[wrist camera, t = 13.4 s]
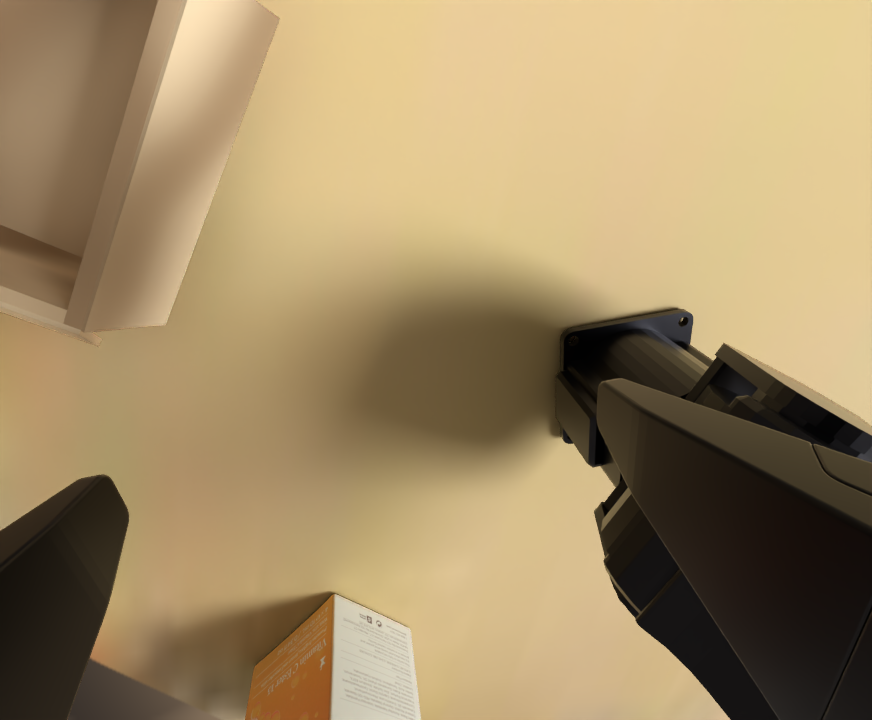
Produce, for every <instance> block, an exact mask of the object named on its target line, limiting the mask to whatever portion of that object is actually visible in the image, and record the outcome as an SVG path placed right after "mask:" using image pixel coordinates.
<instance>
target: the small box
mask: <svg viewBox="0 0 872 720" xmlns="http://www.w3.org/2000/svg"><path fill="white" fill-rule="evenodd" d="M245 720H421V715H420V706H419V698H418V689H417V680H416V672H415V663H414V655H413V646H412V637H411V630H410V629H409V628H408V627H406V626H404V625H402V624H400V623H398V622H395V621H393V620H391V619H389V618H387V617H385V616H383V615H381V614H378V613H376V612H374V611H372V610H370V609H368V608H365V607H363V606H361V605H359V604H357V603H354V602H352V601H350V600H348V599H346V598H343V597H341V596H339V595H337V594H333V595H332V596H331V597H330V598H329V599H328V600H327V601H326V602H325V603H324V604H323V605H322V606H321V607H320V608H319V609H318V610H317V611H316V612H315V613H314V614H313V615H311V616H310V617H309V618H308V619H307V620H306V621H305V622H304V623H303V624H302V625H301V626H299V627H298V628H297V629H296V630H295V631H294V632H293V633H292V634H291V635H290V636H289V637H287V638H286V639H285V640H284V641H283V642H282V643H281V644H280V645H278V646H277V647H276V648H275V649H274V650H273V651H272V652H271V653H269V654H268V655H267V656H266V657H265V658H264V659H263V660H261V661H260V662H259V663H258V664H257V665H256V666H255V667H254V671H253V676H252V682H251V688H250V694H249V700H248V705H247V711H246V717H245Z"/></svg>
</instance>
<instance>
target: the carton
mask: <svg viewBox="0 0 872 720" xmlns="http://www.w3.org/2000/svg"><path fill="white" fill-rule="evenodd" d="M279 20H280V18H279V17H277V16H276V15H274V14H273V13H272V12H270V11H269V10H268V9H266V8H265V7H264V6H262V5H261V4H260V3H258V2H257V1H256V0H0V312H2V313H5V314H8V315H11V316H13V317H16V318H19V319H22V320H25V321H28V322H30V323H33V324H36V325H39V326H42V327H45V328H47V329H50V330H53V331H56V332H59V333H62V334H64V335H67V336H70V337H73V338H76V339H78V340H81V341H84V342H87V343H90V344H93V345H95V346H99V344H100V342H101V340H102V339H101V338H100V337H98V336H97V335H95V334H94V333H93V332H97V331H107V330H118V329H128V328H139V327H149V326H160V325H166V323H167V321H168V318H169V315H170V312H171V310H172V307H173V304H174V302H175V299H176V296H177V294H178V291H179V288H180V286H181V283H182V280H183V278H184V275H185V272H186V270H187V267H188V264H189V261H190V259H191V256H192V253H193V251H194V248H195V245H196V243H197V240H198V237H199V235H200V232H201V229H202V227H203V224H204V221H205V219H206V216H207V213H208V211H209V208H210V205H211V202H212V200H213V197H214V194H215V192H216V189H217V186H218V184H219V181H220V178H221V176H222V173H223V170H224V168H225V165H226V162H227V160H228V157H229V154H230V151H231V149H232V146H233V143H234V141H235V138H236V135H237V133H238V130H239V127H240V125H241V122H242V119H243V117H244V114H245V111H246V109H247V106H248V103H249V100H250V98H251V95H252V92H253V90H254V87H255V84H256V82H257V79H258V76H259V74H260V71H261V68H262V66H263V63H264V60H265V58H266V55H267V52H268V50H269V47H270V44H271V41H272V39H273V36H274V33H275V31H276V28H277V25H278V23H279Z"/></svg>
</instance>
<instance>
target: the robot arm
mask: <svg viewBox="0 0 872 720" xmlns="http://www.w3.org/2000/svg"><path fill="white" fill-rule="evenodd" d="M683 317H684V318H683ZM681 318H683V321H682V322H681V323H678V322H679V320H680V319H681ZM692 326H693V316H692V314H691V313H689V312H687V311H686V310H684V309H678V310H672V311H666V312H661V313H655V314H649V315H643V316H638V317H632V318H626V319H620V320H615V321H609V322H603V323H597V324H592V325H586V326H580V327H574V328H570V329H567V330H565V331H564V332H563V334H562V335H561V339H560V371H559V372H558V373H557V375H556V418H557V420H558V421H559V423H560V435H561V437H562V439H563V440H564V442H565V443H568V444H573V443H574V445H575V446H576V448H577V449H578V451H579V452H580V454H581V455H582V456H583V458H584V459H585V461H586V462H587V464H589V465H590V466H592V467H598V466H601V468H602V469H603V471H604V472H605V473H606V475H607V476H608V478H609V479H610V480H611V482H612V483H613V485H614V486H615V487H616V488H615V489H614V491H613V492H612V493H611V495H610V496H609V497H608V499H607V500H606V501H605V502H601V503H600V505H599V506H598V507H597V509H596V510H595V511H594V514H595V518H596V522H597V526H598V530H599V534H600V538H601V543H602V547H603V551H604V555H605V558H604V565H605V568H606V571H607V572H608V574H609V576H610V579H611V582H612V584H613V587H614V589H615V591H616V593H617V596H618V598H619V600H620V601H621V602H622V603H623V604H624V605H625V606H626V608H627V609H628V610H629V611H630V613H631V614H632V615H633V616H634V617H635V618H636V622H637V624H638V625H639V626H640V627H641V628H642V629H644V630H645V631H646V632H647V633H649V634H650V635H651V636H652V637H654V638H655V639H656V640H658V641H659V642H660V643H661V644H663V645H664V646H665V647H666V648H667V649H668V650H669V651H670V652H671V653H672V654H673V655H674V656H676V657H677V658H678V659H679V660H680V661H681V662H682V663H683V664H684V665H685V666H686V667H687V668H688V669H689V670H690V671H691V672H692V674H693V675H694V676H695V677H696V678H697V679H698V680H699V682H700V683H701V684H702V685H703V686H704V687H705V689H706V690H707V691H708V692H709V693H710V695H711V696H712V697H713V698H714V700H715V701H716V702H717V703H718V704H719V706H720V707H721V708H722V709H723V711H724V712H725V713H726V714H727V716H728V717H729V718H730V719H731V720H872V426H870V425H869V424H868V423H867V422H865V421H864V420H863V419H861V418H860V417H859V416H857V415H855V414H854V413H852V412H850V411H849V410H847V409H845V408H844V407H842V406H840V405H838V404H837V403H835V402H833V401H832V400H830V399H828V398H826V397H825V396H823V395H821V394H820V393H818V392H816V391H814V390H813V389H811V388H809V387H808V386H806V385H804V384H802V383H800V382H798V381H797V380H795V379H793V378H791V377H789V376H787V375H785V374H783V373H781V372H779V371H777V370H775V369H773V368H771V367H770V366H768V365H766V364H764V363H762V362H760V361H758V360H756V359H754V358H752V357H750V356H748V355H746V354H744V353H743V352H741V351H739V350H737V349H735V348H733V347H731V346H729V345H727V344H725V343H723V345H722V346H721V347H720V349H719V350H718V351H717V353H716V354H715V355H716V356H717V357H716V359H715V360H714V361H713V360H711V359H710V358H709V357H707V356H706V355H704V354H703V353H701V352H700V351H698V350H697V349H695V348H694V347H693V346H691V345H690V340H691V333H692ZM573 336H576V337H575V340H574V341H573V342H571V343H569V339H570V338H571V337H573ZM128 523H129V513H128V509H127V507H126V505H125V503H124V501H123V499H122V497H121V496H120V494H119V492H118V490H117V488H116V486H115V484H114V483H113V481H112V479H111V478H110V477H109V476H107V475H96V476H91V477H85V478H81V479H79V480H77V481H75V482H74V483H72V484H71V485H69V486H68V487H66V488H65V489H63V490H62V491H60V492H59V493H57V494H56V495H54V496H53V497H51V498H49V499H48V500H46V501H45V502H43V503H42V504H40V505H39V506H37V507H36V508H34V509H33V510H31V511H30V512H28V513H27V514H25V515H24V516H22V517H21V518H19V519H18V520H16V521H15V522H13V523H12V524H10V525H9V526H7V527H6V528H4V529H2V530H1V531H0V720H67V719H68V716H69V713H70V711H71V708H72V705H73V702H74V700H75V697H76V694H77V691H78V688H79V686H80V683H81V680H82V677H83V675H84V672H85V669H86V666H87V664H88V661H89V658H90V655H91V652H92V650H93V647H94V644H95V641H96V638H97V636H98V633H99V630H100V627H101V625H102V622H103V619H104V616H105V613H106V610H107V607H108V604H109V600H110V597H111V593H112V590H113V585H114V581H115V577H116V573H117V569H118V565H119V561H120V556H121V552H122V548H123V544H124V540H125V536H126V532H127V527H128Z"/></svg>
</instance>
